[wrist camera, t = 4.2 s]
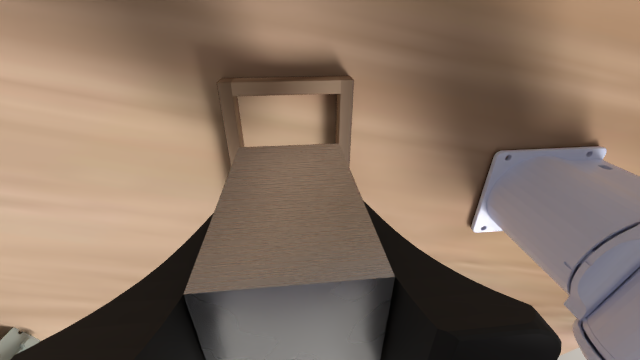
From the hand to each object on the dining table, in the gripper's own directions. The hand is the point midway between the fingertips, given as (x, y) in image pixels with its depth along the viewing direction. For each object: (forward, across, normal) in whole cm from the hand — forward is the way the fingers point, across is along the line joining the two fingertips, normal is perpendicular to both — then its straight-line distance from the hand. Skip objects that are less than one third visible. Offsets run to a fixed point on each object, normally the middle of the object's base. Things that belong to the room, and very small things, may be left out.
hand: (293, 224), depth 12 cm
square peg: (+3, 0, 0) cm, 3 cm away
